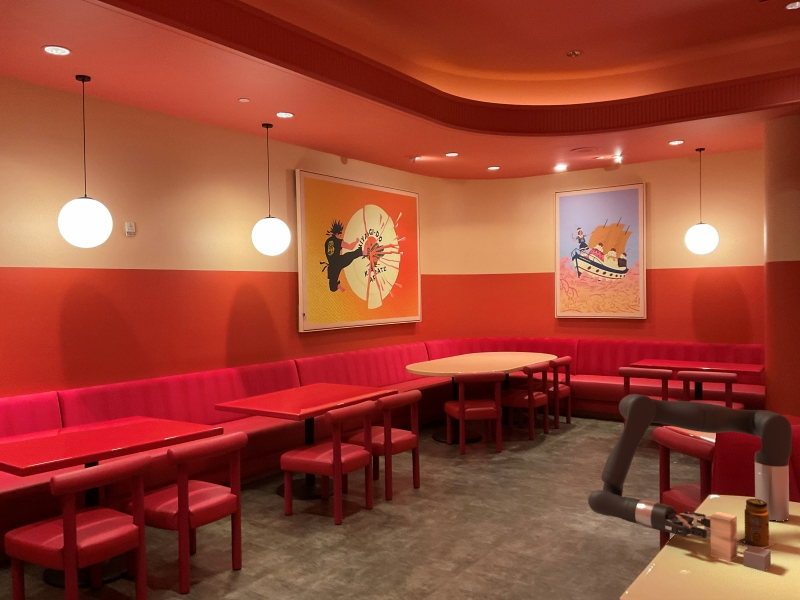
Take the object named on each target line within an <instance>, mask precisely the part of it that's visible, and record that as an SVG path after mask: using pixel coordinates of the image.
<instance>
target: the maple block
mask: <svg viewBox="0 0 800 600" xmlns="http://www.w3.org/2000/svg"><path fill="white" fill-rule="evenodd" d="M709 516H710V528H711V537H710V557H713V558H716V559H719V560H723V561H727V562H730V563H731V562H732V561H733V560H735V559H736V558H737V557H738V543H737V541H738V528H737V527H738V525H737V524H738V523H737V517H738V516H737V515H734V514H730V513H725V512H720V511H716V512H714V513H713V514H711V515H709Z"/></svg>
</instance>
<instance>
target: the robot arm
mask: <svg viewBox="0 0 800 600" xmlns="http://www.w3.org/2000/svg"><path fill="white" fill-rule="evenodd" d="M618 410H619V413H620V415H621V417H623V418H624V419H625V422H624V423H625V424H624V427H623V430H622V432H621V435H620V436H619V438H618V440H617V441H616V443H615V445H614V446H613V447H612V449H611V451H610V453H609V455H608V456H607V458H606V461H605V465H604V467H603V470H602V472H601V476H600V477H601V481H602V482H603V486H602V490H601V489H599V490H594V491H593V492H591V493H590V494H589V495H588V499H587V503H588V506H589V508H590V509H591V511H593V512H594V513H595V514H599V515H603V516H606V517H612V518H619V519H621V520H624V521H627V522H630V523H633V524H637V525H641V526H643V527H645V528H648V529H653V530H657V531H661V532H665V533H670V534H673V535H677V536H680V537H684V538H687V537H688V536H696V537H698V538H703V539H706V538H707V530H706V529H704V528H701V527H704V526H705V527H709V528H710V519H707V518H705V517H706V516H707V514H704V513H698V512H694V511H689V510H683V512H680V513H677V511H676V510H675V507H673V505H670V504H669V505H668V504H664V503H661V502H660V503H659V502H656V501H651V500H643V499H640V498H635V497H627V496H623V492H624V484H625V481H626V480H627V479H626V478H627V476H628V473H629V471H630V467H631V464H632V462H633V460H634V457H635V454H636V452H637V450H638V447H639V446H640V444H641V442H642V439H643V438H644V436H645V434H646V432H647V430H648V429H649V427H650V426H651V424H652V423H658V424H662V425H663V424H664V425H668V426H671V427H676V428H680V429H684V430H687V431H694V432H700V433H705V434H706V433H707V434H719V433H720V434H722V433H730V432H732V433H733V432H735V433H741V434H746V435H750V436H752V437H757V438H759V439H760V440H761V443H760V449H759V450H757V451H755V453H754V492H755V493H754V499H759V500H763V501H765V502H766V503H767V512H768V514H769V520H777V521H783V520H787V519H789V520H790V489H789V488H790V486H789V483H790V479H789V460H790V458H791V456H792V449H793V447H792V443H793V442H792V441H793V429H792V424H791V422H790V420H789V419H788V418H787V417H785V416H784V415H782V414H779V413H777V412H774V411H771V410H762V409H757V410H756V409H737V408H731V407H729V406H728V407H727V406H723V405H718V404H712V403H706V402H700V401H699V402H698V401H687V400H663V399H662V400H661V399H656V398H651V397H650V396H647V395H644V394H637V393H631V394H628V395H626V396H624V397H623V398H622V399H621V400H620V401H619V404H618ZM777 521H776V522H777ZM783 522H784V521H783Z"/></svg>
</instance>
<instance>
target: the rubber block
mask: <svg viewBox="0 0 800 600" xmlns="http://www.w3.org/2000/svg"><path fill="white" fill-rule="evenodd" d="M742 553H743V555H742V557H743V563H742V565H743V567H746V568H750V569H753V570H756V571H760V572H764V573H765V572H766V571H767V570H768V569H769V568H770V567H771V566H772V563H771V560H772V558H771V554H772V553H771V550H768V549H766V548H765V549H761V548H757V547H753V546H749V547H746V548H745V549H744V550H743V551H742Z"/></svg>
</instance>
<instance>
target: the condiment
mask: <svg viewBox="0 0 800 600" xmlns="http://www.w3.org/2000/svg"><path fill="white" fill-rule="evenodd" d="M769 523H770V521H769V514H768V512H767V503H766V502H765V501H763V500H759V499H755V498H748V499H746V501H745V509H744V537H743V538H740V539H737V545H741V546H744V547H745V548H748V547H749V546H753V547H757V548H761V549H765V550H766V548H770V547H772V546H774V545H776V542H771V541H770V526H769V525H770V524H769Z"/></svg>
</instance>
